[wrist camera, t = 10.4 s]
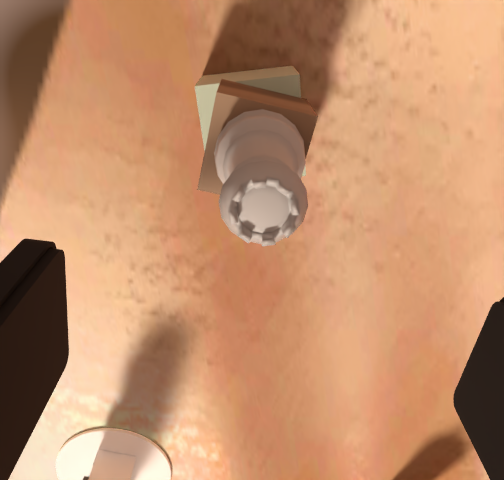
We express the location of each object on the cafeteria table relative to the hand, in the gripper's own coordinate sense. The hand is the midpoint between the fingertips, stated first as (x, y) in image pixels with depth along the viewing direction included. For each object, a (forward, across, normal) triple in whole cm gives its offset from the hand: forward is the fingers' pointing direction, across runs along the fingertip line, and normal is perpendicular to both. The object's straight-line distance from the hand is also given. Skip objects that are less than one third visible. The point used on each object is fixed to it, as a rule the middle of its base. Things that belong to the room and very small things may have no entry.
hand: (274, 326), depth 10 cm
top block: (+20, 0, +1) cm, 20 cm away
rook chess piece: (+15, 0, 0) cm, 15 cm away
